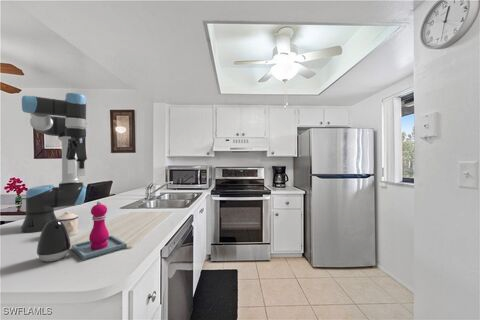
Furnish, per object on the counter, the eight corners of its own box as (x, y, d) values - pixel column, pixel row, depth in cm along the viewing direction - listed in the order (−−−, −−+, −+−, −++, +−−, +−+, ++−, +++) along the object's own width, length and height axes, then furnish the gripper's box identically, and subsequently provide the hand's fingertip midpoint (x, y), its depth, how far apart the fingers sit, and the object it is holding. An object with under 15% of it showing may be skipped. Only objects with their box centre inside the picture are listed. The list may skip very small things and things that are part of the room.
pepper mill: (99, 251, 93) (99, 202, 93) (85, 249, 95) (84, 202, 94) (112, 244, 100) (112, 199, 100) (99, 243, 102) (98, 199, 101)
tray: (71, 249, 96) (71, 245, 96) (111, 239, 109) (111, 235, 109) (83, 260, 86) (83, 255, 86) (126, 248, 98) (126, 243, 98)
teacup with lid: (53, 234, 114) (53, 212, 114) (74, 230, 121) (74, 208, 121) (60, 240, 107) (60, 216, 107) (83, 235, 114) (83, 212, 114)
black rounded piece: (43, 267, 81) (42, 225, 80) (32, 260, 86) (32, 220, 86) (75, 257, 89) (75, 218, 89) (64, 251, 95) (64, 215, 95)
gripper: (95, 127, 97) (95, 176, 98) (76, 130, 113) (76, 172, 114) (74, 126, 92) (74, 177, 92) (58, 128, 107) (58, 172, 108)
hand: (75, 174), depth 103 cm, fingers open, 13 cm apart
